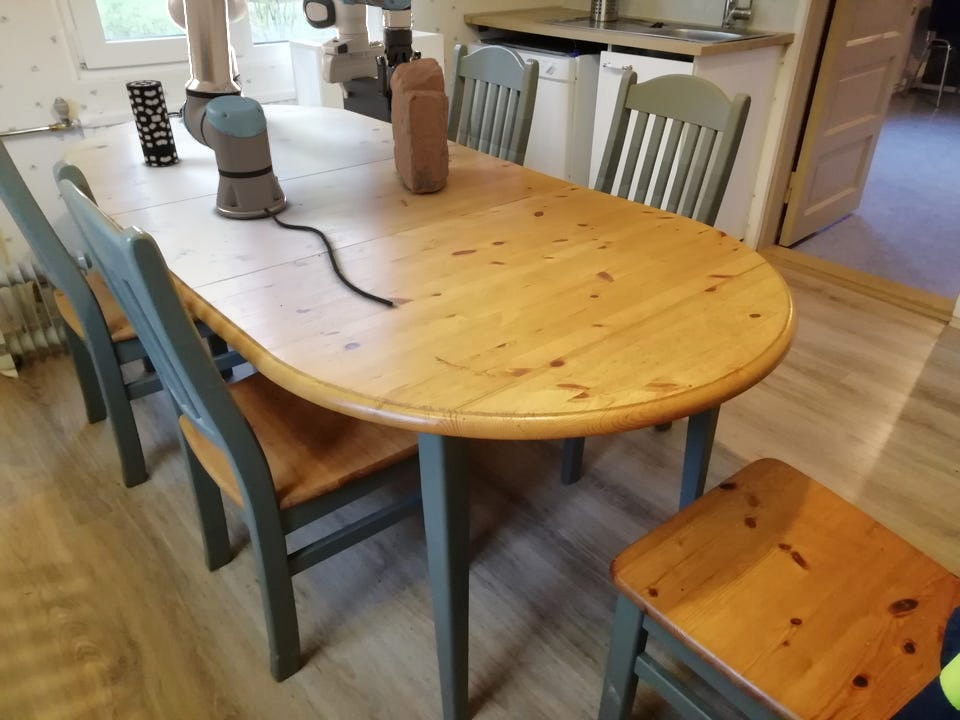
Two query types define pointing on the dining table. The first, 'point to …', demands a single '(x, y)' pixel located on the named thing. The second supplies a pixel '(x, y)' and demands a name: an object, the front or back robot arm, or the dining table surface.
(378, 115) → the bar
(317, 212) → the dining table surface
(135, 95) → the black white spotted cylinder
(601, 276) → the dining table surface
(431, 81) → the stone
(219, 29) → the front robot arm
